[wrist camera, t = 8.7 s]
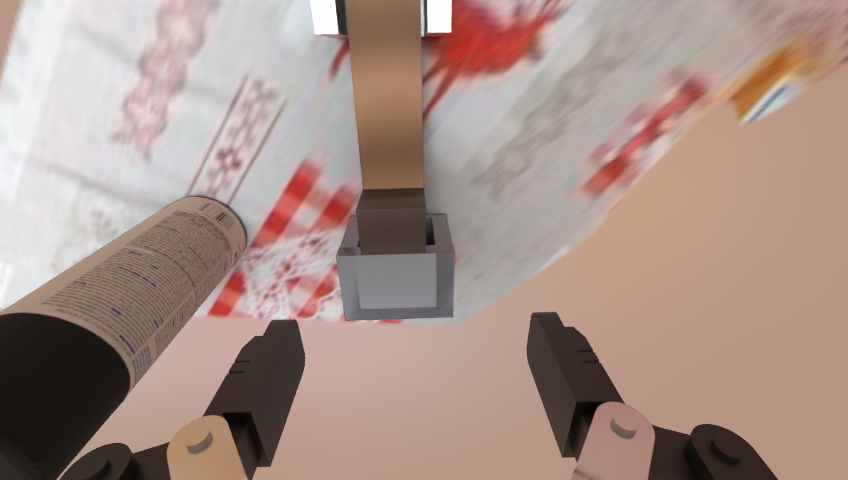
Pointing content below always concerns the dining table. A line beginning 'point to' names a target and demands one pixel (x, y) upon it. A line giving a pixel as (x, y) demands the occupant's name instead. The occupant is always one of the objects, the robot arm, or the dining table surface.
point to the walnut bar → (388, 123)
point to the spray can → (103, 331)
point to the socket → (398, 277)
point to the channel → (334, 20)
